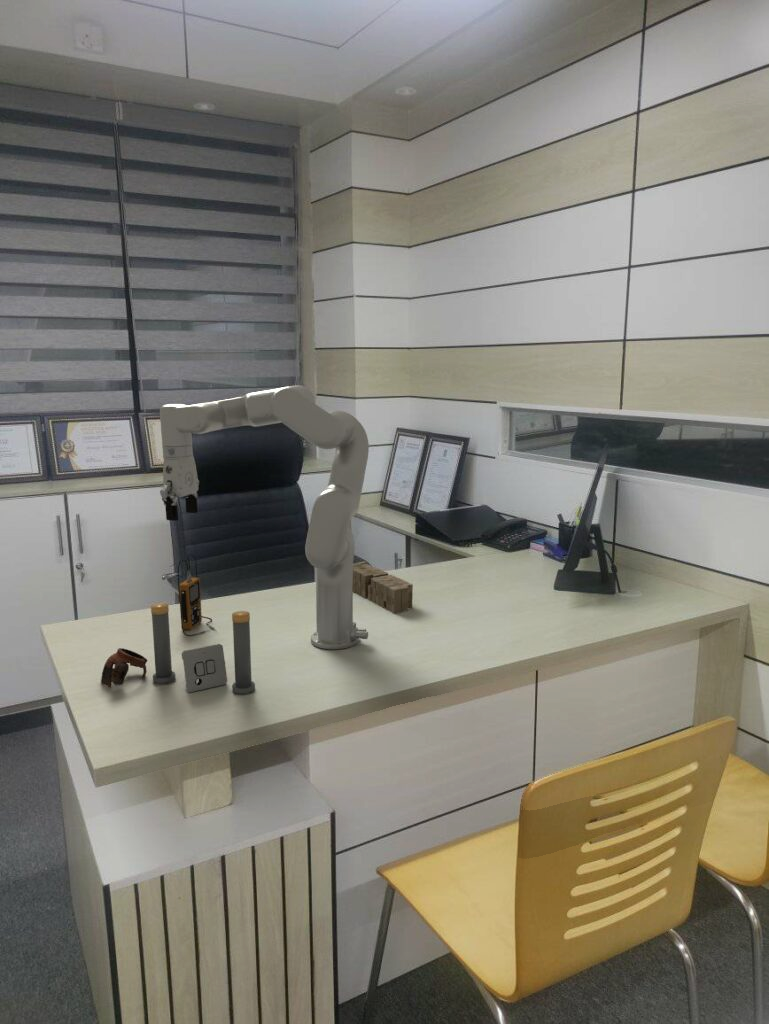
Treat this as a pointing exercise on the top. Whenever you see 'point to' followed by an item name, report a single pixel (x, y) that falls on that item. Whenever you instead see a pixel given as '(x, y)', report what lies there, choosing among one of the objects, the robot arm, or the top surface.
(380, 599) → the block tower
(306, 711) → the top surface
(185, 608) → the multimeter
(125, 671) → the brown curved hollow piece
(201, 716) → the top surface
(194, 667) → the electrical switch
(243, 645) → the post near
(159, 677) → the post far
